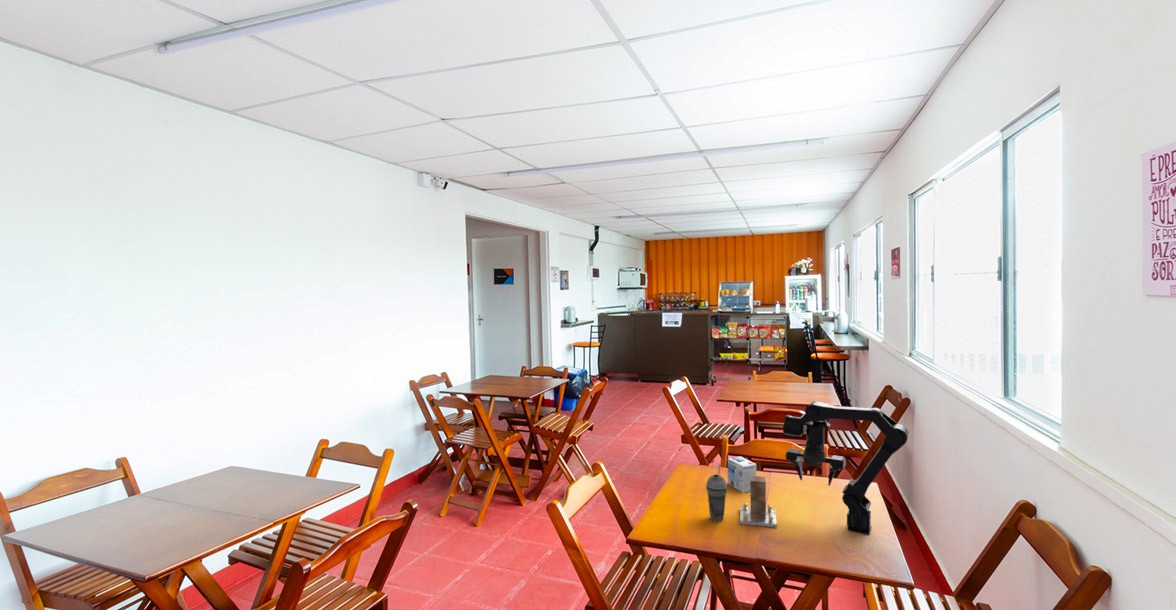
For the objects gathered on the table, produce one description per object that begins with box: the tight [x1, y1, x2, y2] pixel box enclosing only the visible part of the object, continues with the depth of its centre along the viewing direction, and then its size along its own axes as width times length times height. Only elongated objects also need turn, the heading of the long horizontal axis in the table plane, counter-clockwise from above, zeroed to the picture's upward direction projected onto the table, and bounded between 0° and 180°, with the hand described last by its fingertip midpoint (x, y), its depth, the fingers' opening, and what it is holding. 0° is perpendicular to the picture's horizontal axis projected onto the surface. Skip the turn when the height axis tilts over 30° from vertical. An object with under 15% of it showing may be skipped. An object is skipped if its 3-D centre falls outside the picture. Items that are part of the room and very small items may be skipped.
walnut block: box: [749, 475, 767, 519], centre depth 188 cm, size 5×5×13 cm
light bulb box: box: [727, 456, 757, 493], centre depth 216 cm, size 11×7×11 cm, turn 21°
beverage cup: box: [706, 462, 728, 522], centre depth 188 cm, size 7×7×20 cm
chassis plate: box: [739, 502, 778, 528], centre depth 188 cm, size 12×12×3 cm
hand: (815, 482), depth 186 cm, fingers open, 9 cm apart
